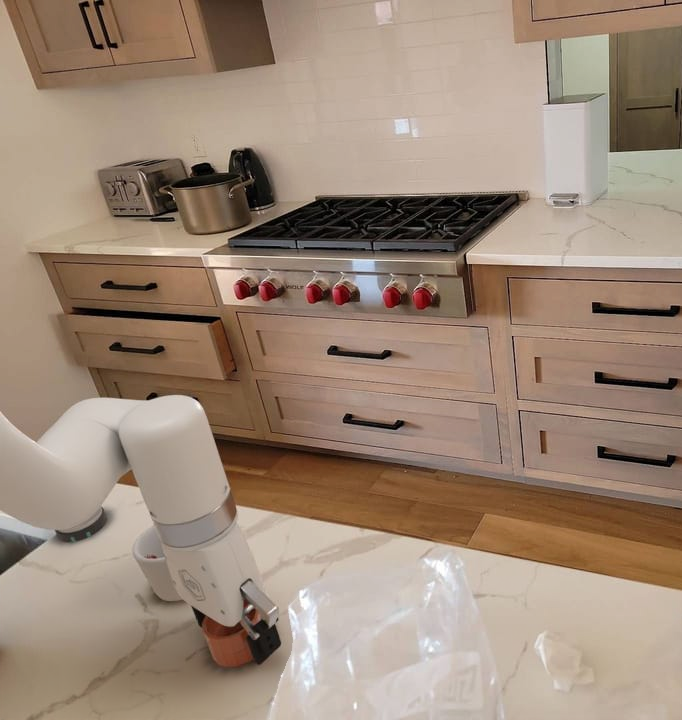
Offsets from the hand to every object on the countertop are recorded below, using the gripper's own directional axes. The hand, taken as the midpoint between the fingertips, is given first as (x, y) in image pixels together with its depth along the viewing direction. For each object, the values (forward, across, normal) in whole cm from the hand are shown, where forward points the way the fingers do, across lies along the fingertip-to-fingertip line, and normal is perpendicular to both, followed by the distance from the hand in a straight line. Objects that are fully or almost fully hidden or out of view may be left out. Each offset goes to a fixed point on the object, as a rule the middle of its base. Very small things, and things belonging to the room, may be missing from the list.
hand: (239, 636), depth 75 cm
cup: (+2, -16, +3) cm, 16 cm away
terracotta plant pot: (+2, 0, 0) cm, 2 cm away
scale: (+2, -38, +2) cm, 38 cm away
